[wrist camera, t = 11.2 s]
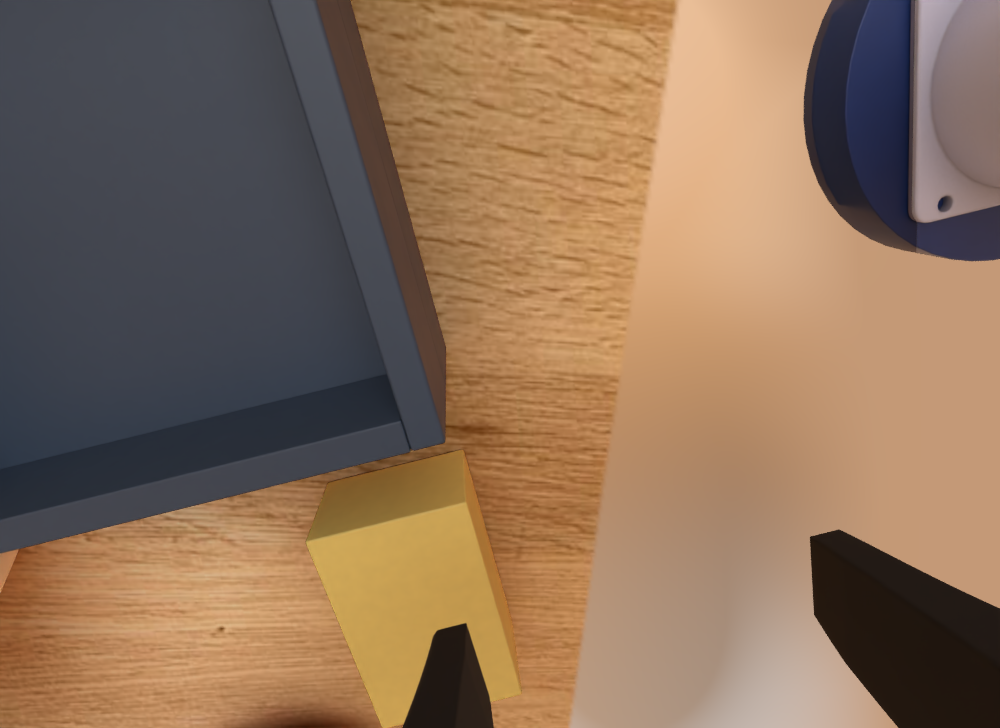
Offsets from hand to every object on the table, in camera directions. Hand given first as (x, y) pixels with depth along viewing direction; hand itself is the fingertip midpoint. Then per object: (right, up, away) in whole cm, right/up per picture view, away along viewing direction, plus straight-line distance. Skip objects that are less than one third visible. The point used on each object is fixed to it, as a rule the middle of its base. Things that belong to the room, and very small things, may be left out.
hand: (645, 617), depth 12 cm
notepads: (-6, -2, +10) cm, 12 cm away
